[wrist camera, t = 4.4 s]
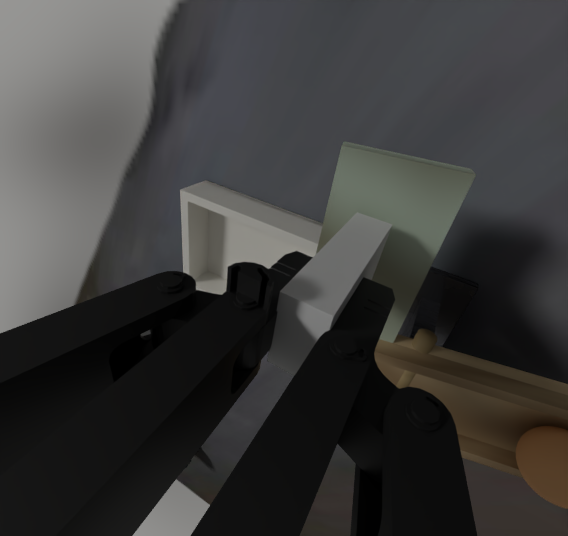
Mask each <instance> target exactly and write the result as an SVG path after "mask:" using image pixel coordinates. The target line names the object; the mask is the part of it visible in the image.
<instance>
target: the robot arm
mask: <svg viewBox="0 0 568 536" xmlns="http://www.w3.org/2000/svg"><path fill="white" fill-rule="evenodd" d="M392 225H393V224H390V223H387V222H384V221H381V220H378V219H375V218H372V217H369V216H366V215H364V214H361V213H358V212H357V213H356V214H355V215H354V216H353V217H352V218H351V219H350V220H349V221H348V222H347V223H346V224H345V225H344V226H343V227H342V228H341V229H340V230H339V231H338V232H337V233H336V234H335V235H334V236H333V237H332V238H331V239H330V241H329V242H328V243H327V244H326V245H325V246H324V247H323V248H322V249H321V250H320V251H319V252H318V253H317V254H316V255H315V256H314V257H311V256H308V255H306V254H303V253H301V252H298V251H295V252H291V253H288V254H285V255H284V256H283V257H282V258H280V259H279V260H278V261H277V263H275V264H274V265H272V266H271V268H269V269H268V268H266V267H264V266H263V265H260V264H257V263H254V262H239V263H234V264H232V265H230V266H228V271H227V287H226V292H224V293H223V294H222V295H220V294H214V293H209V292H204V291H200V290H196V281H195V280H194V279H193V277H192V276H190V275H188V274H186V273H183V272H178V271H167V272H163V273H159V274H156V275H153V276H151V277H148V278H145V279H143V280H140V281H137V282H135V283H132V284H130V285H127V286H124V287H122V288H119V289H116V290H114V291H111V292H108V293H106V294H103V295H101V296H98V297H95V298H93V299H90V300H87V301H85V302H82V303H79V304H77V305H74V306H72V307H69V308H66V309H64V310H61V311H58V312H56V313H53V314H51V315H48V316H45V317H43V318H40V319H37V320H35V321H32V322H30V323H27V324H24V325H22V326H19V327H16V328H14V329H11V330H8V331H6V332H3V333H0V536H132V535H133V534H134V533H135V531H136V530H137V529H138V528H139V526H140V525H141V523H142V522H143V521H144V520H145V519H146V517H147V516H148V515H149V513H150V512H151V511H152V509H153V508H154V507H155V506H156V504H157V503H158V502H159V500H160V499H161V498H162V496H163V495H164V494H165V493H166V491H167V490H168V489H169V487H170V486H171V484H172V483H173V482H174V481H175V480H176V478H177V477H178V476H179V474H180V473H181V472H182V471H183V469H184V468H185V467H186V465H187V464H188V463H189V462H190V460H191V459H192V458H193V456H194V455H195V454H196V452H197V451H198V450H199V449H200V447H201V446H202V445H203V443H204V442H205V441H206V439H207V438H208V437H209V436H210V434H211V433H212V432H213V430H214V429H215V428H216V427H217V425H218V424H219V423H220V421H221V420H222V419H223V417H224V416H225V415H226V414H227V412H228V411H229V410H230V408H231V407H232V406H233V405H234V403H235V402H236V401H237V399H238V398H239V397H240V395H241V394H242V393H243V392H244V390H245V389H246V388H247V386H248V385H249V384H250V382H251V381H252V380H253V379H254V377H255V376H256V375H257V373H258V371H259V369H260V364H261V359H262V358H263V357H264V356H265V355H266V353H267V352H268V351H269V354H268V360H267V361H268V362H270V363H272V364H274V365H275V366H277V367H279V368H281V369H283V370H284V371H286V372H288V373H290V374H292V375H293V376H294V377H293V379H292V380H291V382H290V383H289V385H288V387H287V388H286V390H285V391H284V393H283V394H282V396H281V397H280V399H279V400H278V402H277V403H276V405H275V407H274V408H273V410H272V411H271V413H270V414H269V416H268V417H267V419H266V420H265V422H264V423H263V425H262V427H261V428H260V430H259V431H258V433H257V434H256V436H255V437H254V439H253V440H252V442H251V443H250V445H249V447H248V448H247V450H246V451H245V453H244V454H243V456H242V457H241V459H240V460H239V462H238V463H237V465H236V467H235V468H234V470H233V471H232V473H231V474H230V476H229V477H228V479H227V480H226V482H225V484H224V485H223V487H222V488H221V490H220V491H219V493H218V494H217V496H216V497H215V499H214V500H213V502H212V504H211V505H210V507H209V508H208V510H207V511H206V513H205V514H204V516H203V518H202V519H201V520H200V522H199V524H198V525H197V527H196V528H195V530H194V531H193V533H192V534H191V536H299V535H300V533H301V531H302V528H303V526H304V523H305V521H306V518H307V516H308V514H309V511H310V509H311V506H312V504H313V501H314V499H315V496H316V494H317V492H318V489H319V487H320V484H321V482H322V479H323V477H324V474H325V472H326V470H327V467H328V465H329V462H330V460H331V457H332V455H333V452H334V450H335V448H336V445H337V443H338V445H339V446H340V447H341V448H342V449H343V450H344V451H345V452H346V453H347V454H348V455H349V456H350V458H351V459H352V460H353V461H354V462H355V463H356V467H355V480H354V494H353V508H352V521H351V535H350V536H477V532H476V527H475V522H474V517H473V512H472V507H471V501H470V496H469V491H468V486H467V481H466V476H465V471H464V466H463V461H462V455H461V450H460V445H459V440H458V435H457V430H456V425H455V422H454V420H453V417H452V415H451V413H450V412H449V410H448V409H447V408H446V406H445V405H444V404H443V402H441V401H440V400H439V399H438V398H436V397H435V396H434V395H433V394H431V393H429V392H427V391H425V390H422V389H420V388H415V387H404V388H400V389H399V388H398V387H397V386H395V385H394V384H393V383H392V382H391V381H389V380H388V379H387V378H386V377H385V376H384V375H383V373H382V372H381V371H380V369H379V368H378V366H377V363H376V361H375V355H374V353H375V348H376V346H377V343H378V341H379V338H380V336H381V333H382V331H383V328H384V326H385V324H386V321H387V319H388V316H389V314H390V311H391V309H392V306H393V304H394V301H395V297H394V293H393V289H392V288H389V287H387V286H384V285H382V284H379V283H377V282H375V281H372V278H373V275H374V272H375V270H376V267H377V264H378V262H379V259H380V256H381V254H382V251H383V248H384V246H385V243H386V241H387V238H388V235H389V233H390V230H391V227H392ZM148 330H150V331H151V334H149V335H146V336H141V335H140V334H142V333H144V332H146V331H148Z"/></svg>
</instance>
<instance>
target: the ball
mask: <svg viewBox="0 0 568 536" xmlns="http://www.w3.org/2000/svg"><path fill="white" fill-rule="evenodd" d="M516 461H517V465H518V468H519V471H520V473H521V474H522V476H523V478H524V479H525V481H526V482H527V484H528V485H529V486H530V487H531V488H532V489H533V490H534V491H535V492H536V493H537V494H538V495H540V496H541V497H542V498H544V499H545V500H547V501H549V502H551V503H552V504H555V505H557V506H560V507H562V508H566V509H568V430H566V429H562V428H559V427H554V426H540V427H535V428H533V429H530V430H529V431H527V432H526V433H524V434H523V435H522V436H521V438H520V439H519V441H518V443H517V447H516Z"/></svg>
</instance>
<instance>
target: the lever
mask: <svg viewBox="0 0 568 536" xmlns="http://www.w3.org/2000/svg"><path fill="white" fill-rule="evenodd" d="M475 176H476V174H475V173H474V172H473V170H472V169H469V168H464V167H459V166H455V165H450V164H446V163H441V162H436V161H432V160H427V159H423V158H418V157H413V156H409V155H404V154H400V153H395V152H390V151H386V150H381V149H376V148H372V147H367V146H363V145H358V144H353V143H349V142H344V143H343V144H342V147H341V151H340V155H339V159H338V164H337V168H336V172H335V176H334V180H333V184H332V189H331V193H330V197H329V201H328V205H327V209H326V214H325V218H324V222H323V226H322V230H321V234H320V239H319V243H318V247H317V251H316V254H317V253H318V252H319V251H320V250H321V249H322V248H323V247H324V246H325V245H326V244H327V243H328V242H329V241H330V239H331V238H332V237H333V236H334V235H335V234H336V233H337V232H338V231H339V230H340V229H341V228H342V227H343V226H344V225H345V224H346V223H347V222H348V221H349V220H350V219H351V218H352V217H353V216H354V215H355V214H356V213H357V212H358V213H361V214H364V215H366V216H369V217H372V218H375V219H378V220H381V221H384V222H387V223H390V224H393V225H392V227H391V230H390V233H389V235H388V238H387V241H386V243H385V246H384V248H383V251H382V254H381V256H380V259H379V262H378V264H377V267H376V270H375V272H374V275H373V278H372V281H375V282H377V283H379V284H382V285H384V286H387V287H389V288H392V289H393V293H394V297H395V301H394V304H393V306H392V309H391V311H390V314H389V316H388V319H387V321H386V324H385V326H384V328H383V331H382V333H381V336H380V338H379V341H378V343H377V346H376V348H375V353H374V355H375V361H376V363H377V366H378V368H379V369H380V371H381V372H382V373H383V375H384V376H385V377H386V378H387V379H388V380H389V381H391V382H392V383H393V384H394V385H395V386H397V387H398V388H399V389H400V388H404V387H415V388H420V389H422V390H425V391H427V392H429V393H431V394H433V395H434V396H435V397H436V398H438V399H439V400H440V401H441V402H443V404H444V405H445V406H446V408H447V409H448V410H449V412H450V413H451V415H452V417H453V420H454V422H455V425H456V430H457V435H458V440H459V445H460V450H461V455H462V458H465V459H468V460H471V461H474V462H477V463H480V464H483V465H486V466H489V467H492V468H495V469H498V470H501V471H504V472H507V473H510V474H513V475H516V476H519V477H522V478H523V476H522V474H521V473H520V471H519V468H518V465H517V461H516V447H517V443H518V441H519V439H520V438H521V436H522V435H523V434H524V433H526V432H527V431H529V430H530V429H533V428H535V427H540V426H554V427H559V428H562V429H566V430H568V384H565V383H562V382H559V381H555V380H552V379H548V378H545V377H542V376H538V375H535V374H531V373H528V372H525V371H521V370H518V369H514V368H511V367H508V366H504V365H501V364H497V363H494V362H491V361H487V360H484V359H480V358H477V357H474V356H470V355H467V354H463V353H460V352H457V351H453V350H450V349H446V348H443V347H440V346H436V345H435V344H436V342H437V340H438V339H437V336H436V335H435V334H434V333H433V332H432V331H430V330H428V329H419V330H418V332H417V334H416V335H415V337H414V339H413V338H409V337H406V336H402V335H399V334H398V332H399V330H400V328H401V326H402V324H403V322H404V320H405V318H406V316H407V314H408V312H409V310H410V308H411V306H412V304H413V302H414V300H415V298H416V296H417V294H418V292H419V290H420V288H421V286H422V283H423V281H424V279H425V277H426V275H427V273H428V271H429V269H430V267H431V265H432V263H433V261H434V259H435V257H436V255H437V253H438V251H439V249H440V247H441V245H442V243H443V241H444V239H445V237H446V235H447V233H448V231H449V229H450V227H451V225H452V223H453V221H454V219H455V217H456V215H457V213H458V211H459V209H460V207H461V205H462V202H463V200H464V198H465V196H466V194H467V192H468V190H469V188H470V186H471V184H472V182H473V180H474V178H475Z"/></svg>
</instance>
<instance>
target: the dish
mask: <svg viewBox="0 0 568 536" xmlns="http://www.w3.org/2000/svg"><path fill="white" fill-rule="evenodd" d="M180 195H181V221H182V248H183V273H186V274H188V275H190V276H192V277H193V279H194V280H195V281H196V290H200V291H204V292H209V293H214V294H220V295H222V294H223V293H224V292H226V287H227V271H228V266H230V265H232V264H234V263H239V262H254V263H257V264H260V265H263V266H264V267H266V268H268V269H269V268H271V266H272V265H274V264H275V263H277V261H278V260H279V259H280V258H282V257H283V256H284V255H285V254H288V253H291V252H295V251H298V252H301V253H303V254H306V255H308V256H311V257H314V256H315V255H316V251H317V247H318V243H319V239H320V234H321V230H322V226H323V223H320V222H317V221H315V220H312V219H309V218H307V217H304V216H301V215H299V214H296V213H293V212H290V211H288V210H285V209H282V208H280V207H277V206H274V205H272V204H269V203H266V202H264V201H261V200H258V199H255V198H253V197H250V196H247V195H245V194H242V193H239V192H237V191H234V190H231V189H228V188H226V187H223V186H220V185H218V184H215V183H212V182H210V181H207V180H206V181H203V182H200V183H197V184H195V185H192V186H189V187H186V188H183V189H181V190H180Z"/></svg>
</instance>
